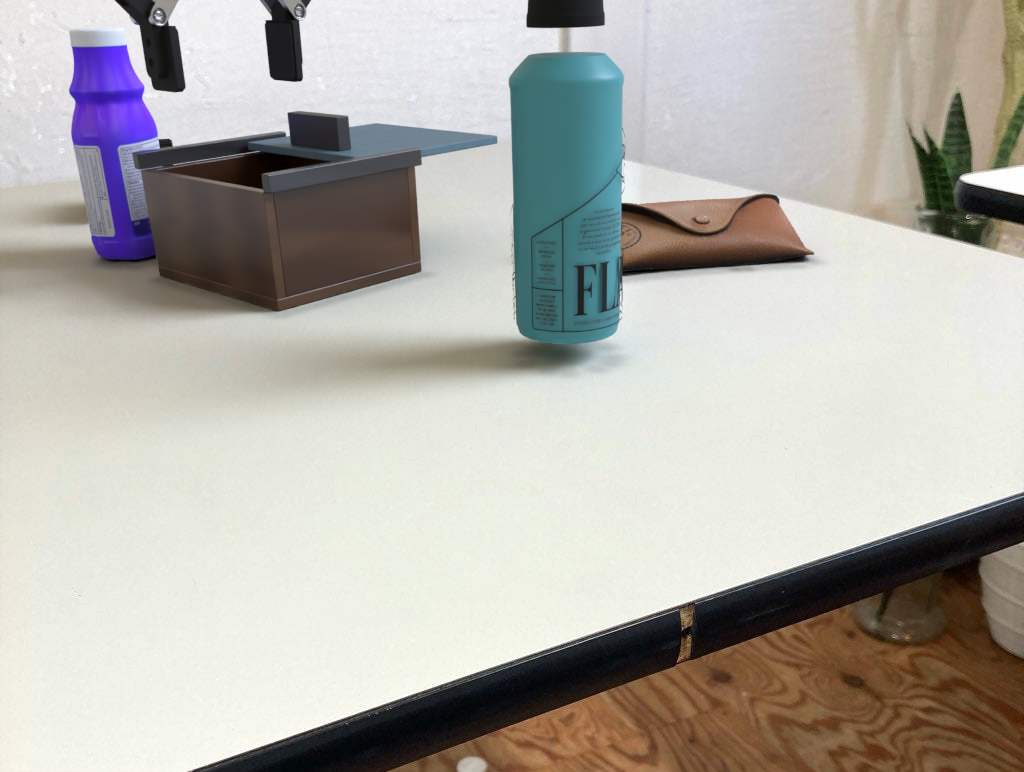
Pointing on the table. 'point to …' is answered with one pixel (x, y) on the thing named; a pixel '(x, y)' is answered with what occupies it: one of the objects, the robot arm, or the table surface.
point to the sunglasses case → (707, 233)
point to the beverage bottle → (567, 184)
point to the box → (280, 220)
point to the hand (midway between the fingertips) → (230, 85)
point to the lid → (361, 138)
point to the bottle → (111, 142)
